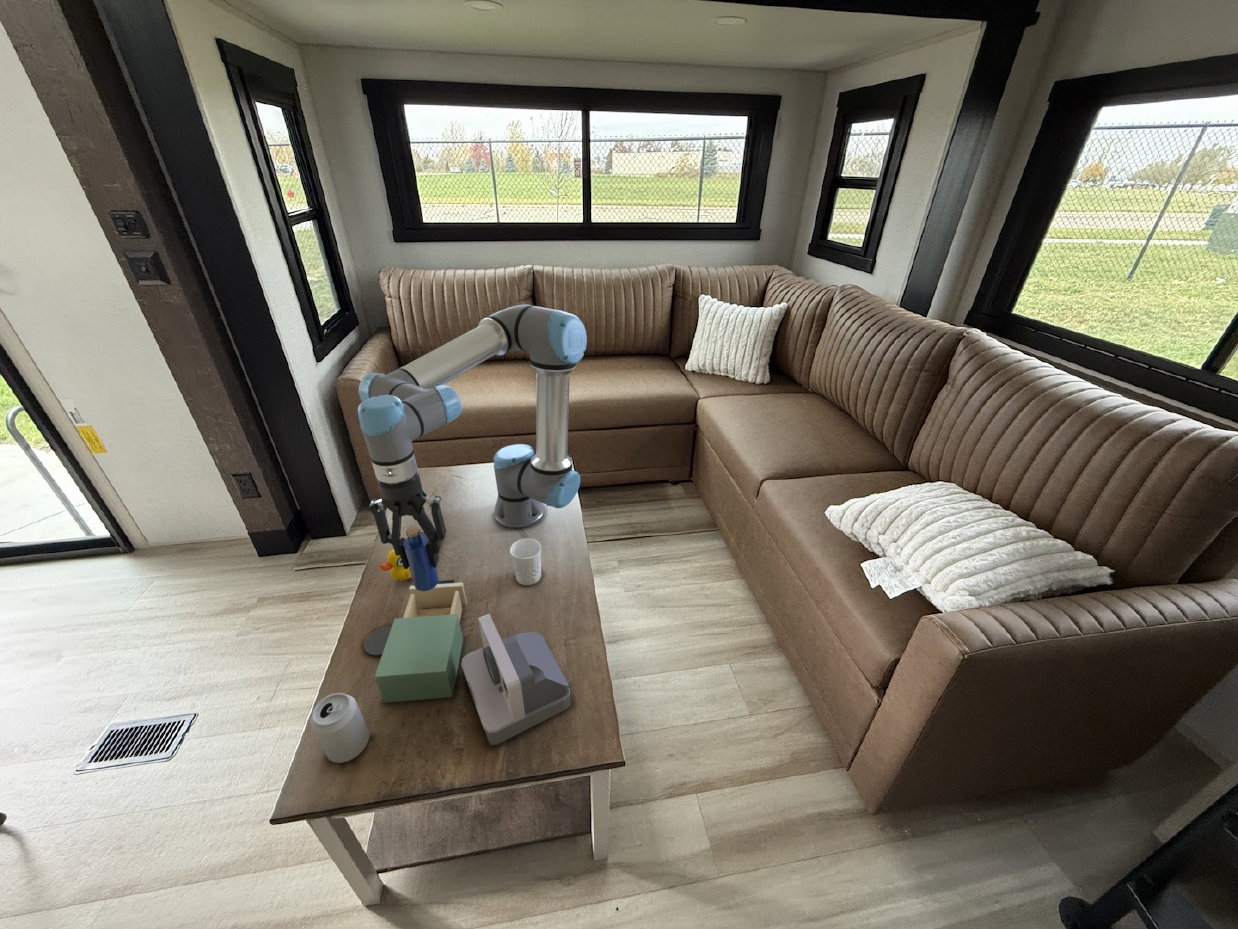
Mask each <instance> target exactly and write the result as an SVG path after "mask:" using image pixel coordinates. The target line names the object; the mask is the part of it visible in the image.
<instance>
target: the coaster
mask: <svg viewBox="0 0 1238 929" xmlns="http://www.w3.org/2000/svg"><path fill="white" fill-rule="evenodd" d="M391 628H392V625H391V626H390V625H387V626H382V627H379V628H377V629H374V630H373V631H372V632H370V633H369V634H368V635H367V637H366V638H365V640H364V643H363V650H364V652H365V654H367V655H369V656H372V657H380V656H381V657H382V654H383V651H384V648H385V645H386V643H387V640H388V637H389V634H390V631H391Z"/></svg>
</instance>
